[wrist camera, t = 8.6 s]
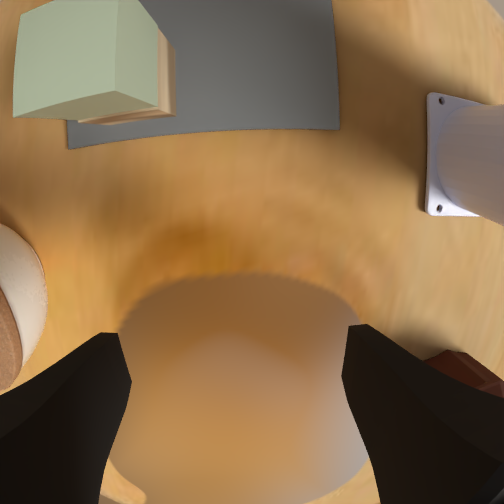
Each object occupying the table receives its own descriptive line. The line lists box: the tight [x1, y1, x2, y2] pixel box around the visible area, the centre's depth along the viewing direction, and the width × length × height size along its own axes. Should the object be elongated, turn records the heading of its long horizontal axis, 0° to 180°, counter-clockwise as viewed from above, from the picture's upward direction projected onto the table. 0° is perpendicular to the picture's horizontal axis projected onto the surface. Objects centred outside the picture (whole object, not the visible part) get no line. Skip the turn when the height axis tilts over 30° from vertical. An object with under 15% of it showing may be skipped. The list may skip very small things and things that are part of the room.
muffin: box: [423, 350, 504, 398], centre depth 19 cm, size 12×11×10 cm
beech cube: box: [78, 28, 176, 125], centre depth 14 cm, size 4×4×4 cm
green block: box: [13, 0, 158, 120], centre depth 9 cm, size 4×4×5 cm
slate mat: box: [67, 0, 340, 150], centre depth 15 cm, size 16×12×1 cm
